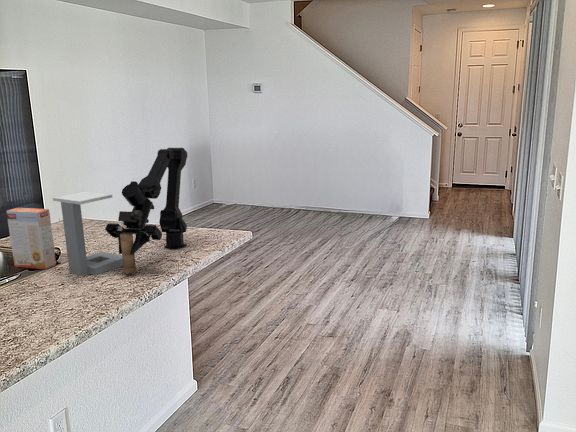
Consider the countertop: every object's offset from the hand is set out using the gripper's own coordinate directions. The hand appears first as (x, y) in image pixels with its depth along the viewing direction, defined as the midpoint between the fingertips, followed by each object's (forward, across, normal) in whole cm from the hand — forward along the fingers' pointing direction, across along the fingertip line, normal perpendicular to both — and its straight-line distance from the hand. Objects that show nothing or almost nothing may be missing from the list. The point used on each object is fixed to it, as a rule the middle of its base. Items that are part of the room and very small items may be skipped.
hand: (125, 253), depth 174 cm
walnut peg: (+4, 0, +6) cm, 7 cm away
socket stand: (+1, -16, +10) cm, 19 cm away
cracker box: (+4, -39, +8) cm, 40 cm away
